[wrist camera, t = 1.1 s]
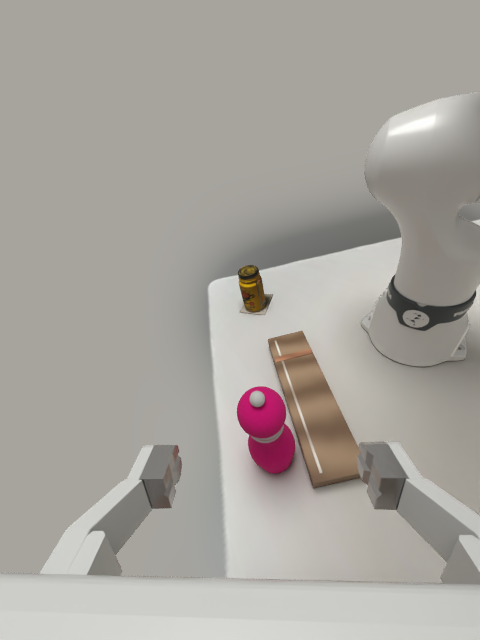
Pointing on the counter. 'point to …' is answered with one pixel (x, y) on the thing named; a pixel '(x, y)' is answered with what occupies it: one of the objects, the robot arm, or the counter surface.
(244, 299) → the condiment
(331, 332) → the counter surface
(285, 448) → the pepper mill
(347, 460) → the board
